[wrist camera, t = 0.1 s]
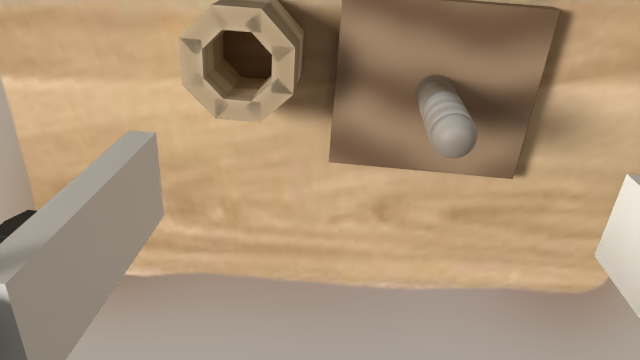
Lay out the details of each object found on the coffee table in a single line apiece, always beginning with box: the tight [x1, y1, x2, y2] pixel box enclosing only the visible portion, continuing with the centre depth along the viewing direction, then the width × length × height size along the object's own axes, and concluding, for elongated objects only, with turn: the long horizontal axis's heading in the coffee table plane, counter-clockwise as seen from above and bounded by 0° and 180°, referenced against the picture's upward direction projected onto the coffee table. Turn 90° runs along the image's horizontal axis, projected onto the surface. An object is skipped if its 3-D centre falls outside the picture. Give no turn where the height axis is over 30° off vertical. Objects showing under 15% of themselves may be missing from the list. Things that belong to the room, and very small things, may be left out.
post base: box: [329, 0, 560, 179], centre depth 35 cm, size 14×16×12 cm
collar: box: [179, 0, 304, 123], centre depth 38 cm, size 8×8×6 cm
